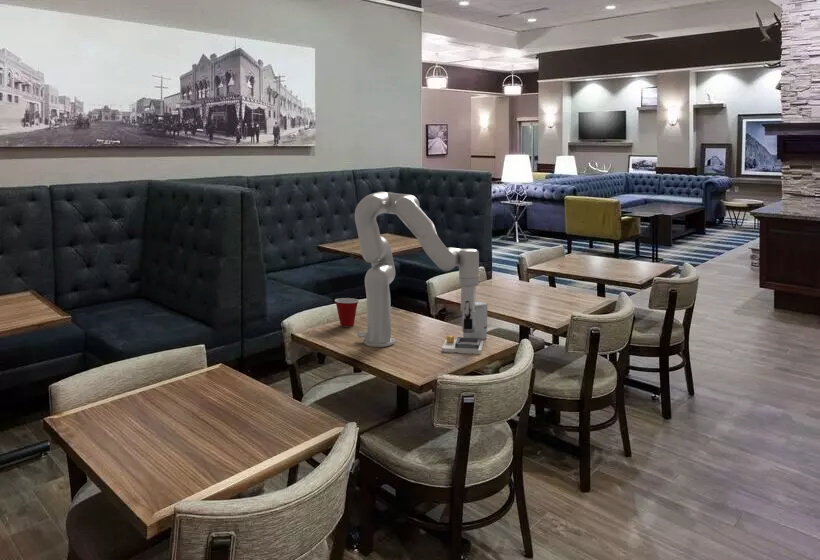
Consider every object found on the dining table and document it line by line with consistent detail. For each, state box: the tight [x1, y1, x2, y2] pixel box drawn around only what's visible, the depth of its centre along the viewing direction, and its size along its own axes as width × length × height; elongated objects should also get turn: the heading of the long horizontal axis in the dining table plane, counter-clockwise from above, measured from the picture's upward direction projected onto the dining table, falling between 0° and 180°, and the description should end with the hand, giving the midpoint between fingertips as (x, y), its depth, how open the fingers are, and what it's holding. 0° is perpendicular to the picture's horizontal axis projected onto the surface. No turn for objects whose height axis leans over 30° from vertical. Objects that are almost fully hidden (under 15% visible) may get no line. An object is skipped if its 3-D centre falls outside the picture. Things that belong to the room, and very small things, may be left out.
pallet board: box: [441, 336, 484, 355], centre depth 247 cm, size 15×12×3 cm
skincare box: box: [462, 301, 488, 340], centre depth 258 cm, size 8×6×15 cm
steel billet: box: [461, 310, 476, 333], centre depth 244 cm, size 5×5×8 cm
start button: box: [445, 334, 455, 343], centre depth 249 cm, size 3×3×2 cm
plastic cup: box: [334, 297, 360, 327], centre depth 278 cm, size 11×11×12 cm
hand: (468, 326), depth 245 cm, fingers closed on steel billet, 5 cm apart
